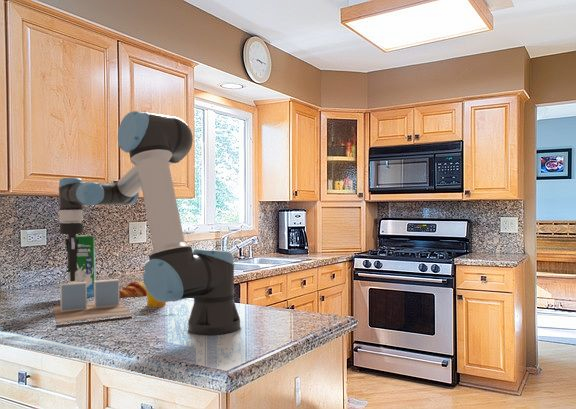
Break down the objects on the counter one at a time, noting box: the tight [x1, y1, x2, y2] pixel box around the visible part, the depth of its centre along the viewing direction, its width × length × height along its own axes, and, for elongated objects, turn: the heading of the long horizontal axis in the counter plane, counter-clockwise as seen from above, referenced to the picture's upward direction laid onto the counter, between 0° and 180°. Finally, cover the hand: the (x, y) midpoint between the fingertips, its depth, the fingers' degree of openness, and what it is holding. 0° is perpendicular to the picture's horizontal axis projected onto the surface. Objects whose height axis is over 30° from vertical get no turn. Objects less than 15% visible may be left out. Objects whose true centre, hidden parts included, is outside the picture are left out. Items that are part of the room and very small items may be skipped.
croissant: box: [119, 281, 147, 299], centre depth 189 cm, size 21×10×8 cm, turn 140°
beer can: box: [146, 291, 167, 308], centre depth 167 cm, size 6×6×15 cm
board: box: [52, 299, 133, 329], centre depth 160 cm, size 26×22×2 cm
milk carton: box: [76, 234, 97, 299], centre depth 188 cm, size 9×9×25 cm
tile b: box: [93, 278, 120, 308], centre depth 166 cm, size 3×8×9 cm, turn 118°
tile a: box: [59, 282, 88, 312], centre depth 161 cm, size 3×8×9 cm, turn 118°
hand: (72, 290), depth 166 cm, fingers closed
